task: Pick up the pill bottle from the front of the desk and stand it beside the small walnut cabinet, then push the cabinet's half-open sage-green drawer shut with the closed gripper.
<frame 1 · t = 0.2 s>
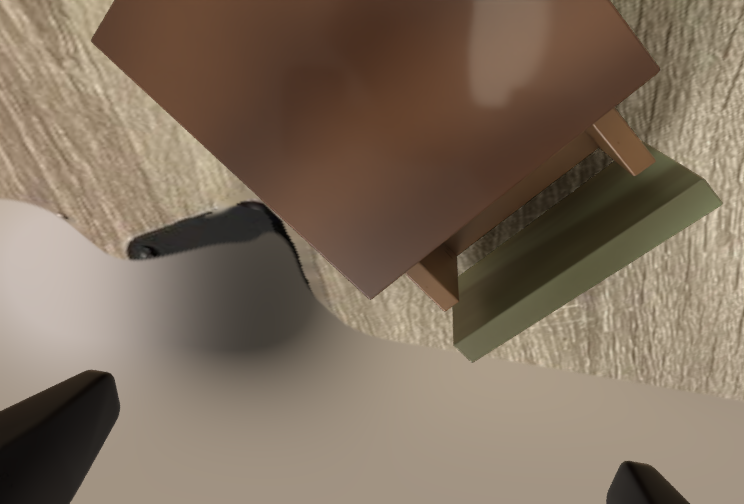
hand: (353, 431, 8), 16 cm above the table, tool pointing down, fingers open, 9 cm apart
drawer: (486, 173, 18), point 4 cm above the table, slide at 4.0 cm
cabinet: (384, 43, 20), on the table
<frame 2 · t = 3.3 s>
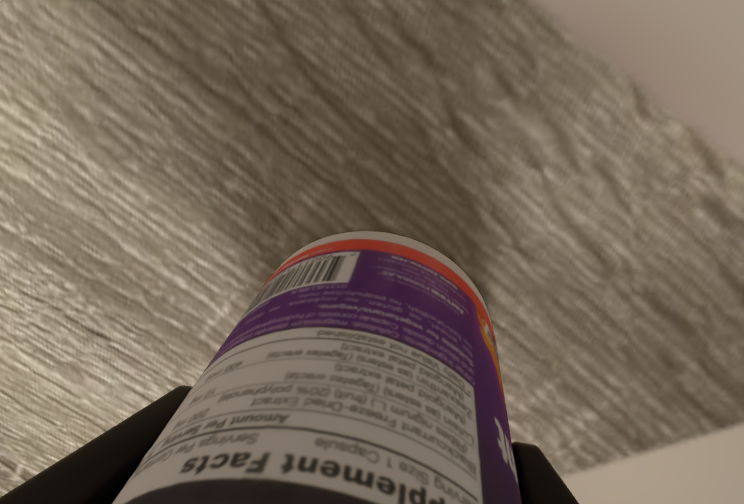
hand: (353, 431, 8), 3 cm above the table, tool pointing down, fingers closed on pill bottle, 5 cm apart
pill bottle: (376, 325, 11), on the table, touching gripper
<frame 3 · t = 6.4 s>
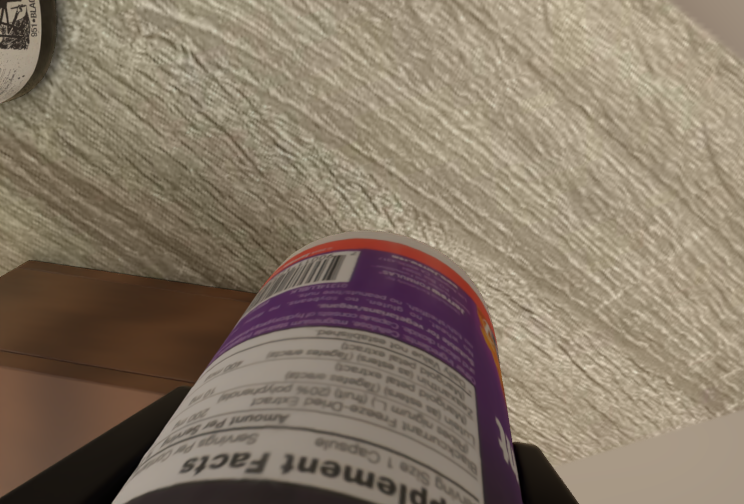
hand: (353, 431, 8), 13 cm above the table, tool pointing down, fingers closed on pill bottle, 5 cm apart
pill bottle: (376, 324, 11), point 9 cm above the table, touching gripper
cabinet: (160, 368, 26), on the table
when the fingers open (3 cm above the table, at t = 9.5 s): pill bottle stays where it is, on the table.
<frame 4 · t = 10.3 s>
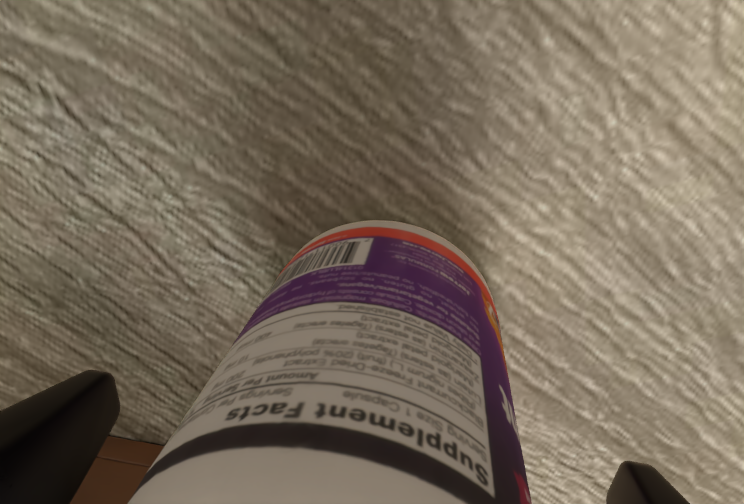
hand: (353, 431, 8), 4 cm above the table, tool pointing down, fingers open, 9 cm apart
pill bottle: (386, 310, 12), on the table
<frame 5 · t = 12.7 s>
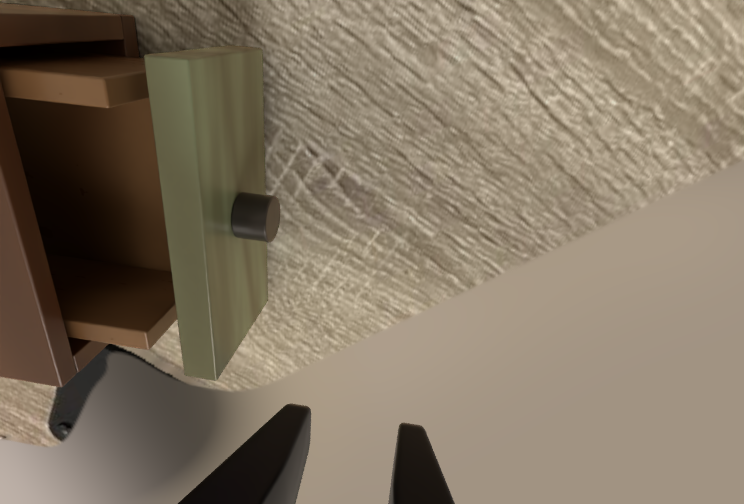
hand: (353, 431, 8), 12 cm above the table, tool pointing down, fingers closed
drawer: (101, 196, 17), point 4 cm above the table, slide at 4.0 cm
cabinet: (18, 151, 20), on the table
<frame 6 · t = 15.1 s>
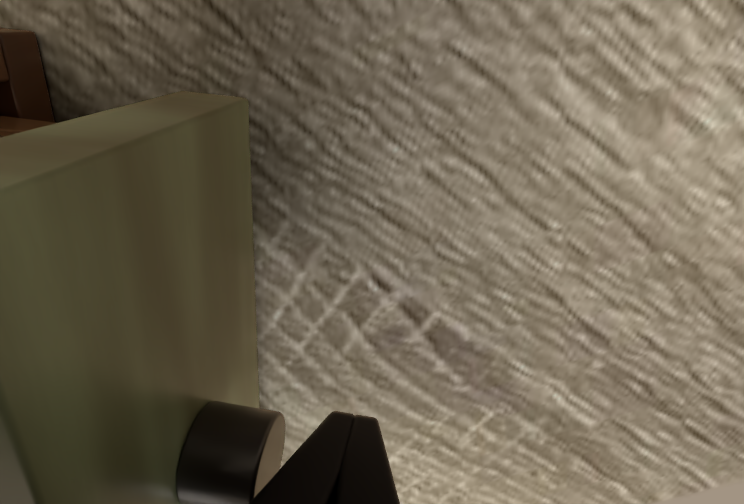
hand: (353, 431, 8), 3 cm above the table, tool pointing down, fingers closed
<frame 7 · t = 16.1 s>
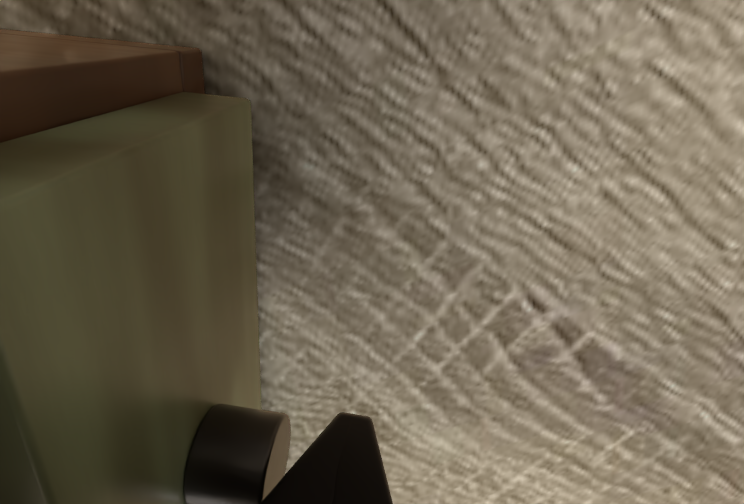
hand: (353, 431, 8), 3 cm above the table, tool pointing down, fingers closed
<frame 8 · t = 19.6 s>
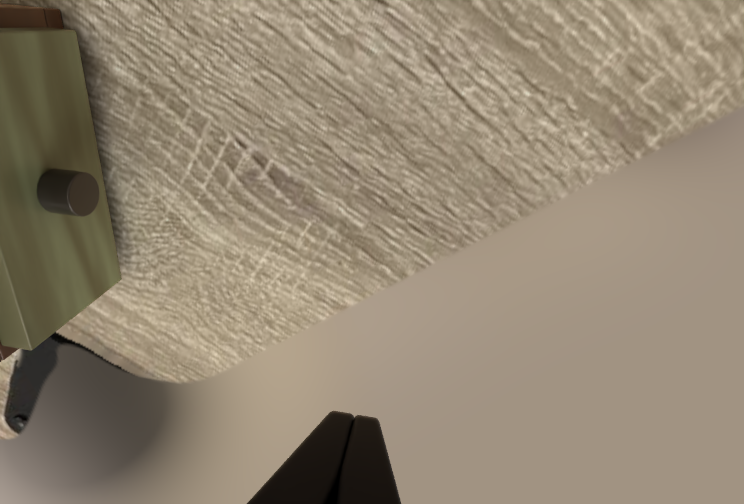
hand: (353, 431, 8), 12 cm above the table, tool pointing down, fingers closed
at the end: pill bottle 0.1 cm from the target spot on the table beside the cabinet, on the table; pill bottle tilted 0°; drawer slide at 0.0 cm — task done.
